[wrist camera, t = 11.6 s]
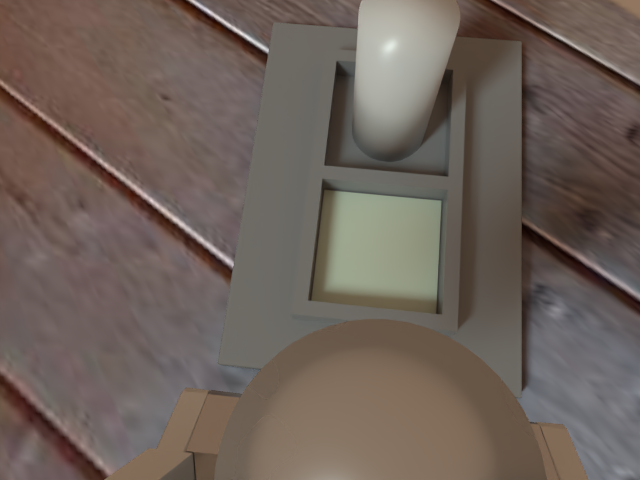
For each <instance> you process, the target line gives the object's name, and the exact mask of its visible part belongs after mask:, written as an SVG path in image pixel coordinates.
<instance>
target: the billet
mask: <svg viewBox="0 0 640 480" xmlns="http://www.w3.org/2000/svg"><path fill="white" fill-rule="evenodd" d="M214 480H547V476H546V471H545V467H544V462H543V457H542V453H541V451H540V448H539V445H538V442H537V439H536V436H535V433H534V431H533V429H532V427H531V425H530V422H529V420H528V418H527V416H526V414H525V412H524V410H523V409H522V407H521V406H520V404H519V402H518V401H517V399H516V398H515V396H514V395H513V393H512V392H511V390H510V389H509V388H508V387H507V385H506V384H505V383H504V382H503V381H502V379H501V378H500V377H499V376H498V375H497V374H496V373H495V372H494V371H493V370H492V369H491V368H490V367H489V366H488V365H487V364H486V363H485V362H484V361H483V360H482V359H481V358H479V357H478V356H477V355H475V354H474V353H473V352H471V351H470V350H469V349H467V348H466V347H465V346H463V345H461V344H460V343H458V342H456V341H454V340H453V339H451V338H449V337H448V336H445V335H443V334H441V333H438V332H436V331H434V330H431V329H429V328H426V327H423V326H419V325H416V324H412V323H409V322H402V321H396V320H389V319H363V320H354V321H347V322H343V323H339V324H335V325H330V326H327V327H325V328H322V329H320V330H317V331H315V332H312V333H310V334H308V335H306V336H304V337H302V338H301V339H299V340H297V341H295V342H293V343H292V344H290V345H289V346H288V347H286V348H285V349H284V350H282V351H281V352H279V353H278V354H277V355H276V356H275V357H273V358H272V359H271V360H270V361H269V362H268V363H267V364H266V365H265V366H264V367H263V368H262V369H261V370H260V371H259V372H258V374H257V375H256V376H255V377H254V378H253V380H252V381H251V382H250V383H249V385H248V386H247V387H246V389H245V391H244V392H243V394H242V395H241V397H240V399H239V400H238V402H237V403H236V405H235V407H234V410H233V412H232V414H231V416H230V418H229V420H228V422H227V425H226V428H225V431H224V434H223V437H222V440H221V443H220V446H219V451H218V456H217V461H216V466H215V477H214Z"/></svg>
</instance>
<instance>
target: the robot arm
mask: <svg viewBox="0 0 640 480" xmlns="http://www.w3.org/2000/svg"><path fill="white" fill-rule="evenodd" d="M241 395H242V394H239V393H231V392H223V391H215V390H211V391H209V390H201V389H194V388H186V389H185V390H184V391H183V392H182V393H181V395H180V397H179V399H178V402H177V404H176V406H175V408H174V411H173V413H172V415H171V417H170V419H169V422H168V424H167V426H166V428H165V431H164V433H163V435H162V437H161V439H160V442H159V444H158V446H157V448H156V449H147V450H146V451H145V452H143V453H142V454H140V455H139V456H137V457H136V458H135V459H133V460H132V461H130V462H129V463H127V464H126V465H125V466H123V467H122V468H120V469H119V470H118V471H116V472H115V473H113V474H112V475H110V476H109V477H108V478H106V479H105V480H214V477H215V466H216V461H217V456H218V451H219V446H220V443H221V440H222V437H223V434H224V431H225V428H226V425H227V422H228V420H229V418H230V416H231V414H232V412H233V410H234V407H235V405H236V403H237V402H238V400H239V399H240V397H241ZM530 425H531V427H532V429H533V431H534V433H535V436H536V439H537V442H538V445H539V448H540V451H541V453H542V457H543V462H544V467H545V471H546V476H547V480H588V477H587V475H586V473H585V470H584V468H583V466H582V463H581V461H580V458H579V456H578V454H577V451H576V449H575V447H574V444H573V442H572V440H571V437H570V435H569V433H568V430H567V428H566V427H565V426H564V425H563V424H553V423H541V422H536V423H534V422H530Z"/></svg>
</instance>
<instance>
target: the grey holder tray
mask: <svg viewBox="0 0 640 480" xmlns="http://www.w3.org/2000/svg"><path fill="white" fill-rule="evenodd" d="M459 24H460V10H459V6H458V4H457V1H456V0H362V1H361V4H360V8H359V18H358V29H353V28H340V27H327V26H314V25H301V24H288V23H275V22H274V23H273V29H272V35H271V41H270V47H269V53H268V59H267V65H266V71H265V77H264V84H263V90H262V96H261V102H260V108H259V114H258V120H257V126H256V132H255V138H254V144H253V151H252V157H251V163H250V169H249V175H248V181H247V187H246V193H245V199H244V205H243V211H242V218H241V224H240V230H239V236H238V242H237V248H236V254H235V260H234V266H233V272H232V278H231V285H230V291H229V297H228V303H227V309H226V315H225V321H224V327H223V333H222V339H221V345H220V352H219V358H218V364H220V365H223V366H232V367H241V368H250V369H259V370H261V369H262V368H263V367H264V366H265V365H266V364H267V363H268V362H269V361H270V360H271V359H272V358H273V357H275V356H276V355H277V354H278V353H279V352H281V351H282V350H284V349H285V348H286V347H288V346H289V345H290V344H292V343H293V342H295V341H297V340H299V339H301V338H302V337H304V336H306V335H308V334H310V333H312V332H315V331H317V330H320V329H322V328H325V327H327V326H330V325H335V324H339V323H343V322H347V321H354V320H363V319H389V320H396V321H402V322H409V323H412V324H416V325H419V326H423V327H426V328H429V329H431V330H434V331H436V332H438V333H441V334H443V335H445V336H448V337H449V338H451V339H453V340H454V341H456V342H458V343H460V344H461V345H463V346H465V347H466V348H467V349H469V350H470V351H471V352H473V353H474V354H475V355H477V356H478V357H479V358H481V359H482V360H483V361H484V362H485V363H486V364H487V365H488V366H489V367H490V368H491V369H492V370H493V371H494V372H495V373H496V374H497V375H498V376H499V377H500V378H501V379H502V381H503V382H504V383H505V384H506V385H507V387H508V388H509V389H510V390H511V392H512V393H513V395H514V396H515V398H522V41H510V40H497V39H484V38H471V37H458V36H456V34H457V31H458V28H459Z"/></svg>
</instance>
